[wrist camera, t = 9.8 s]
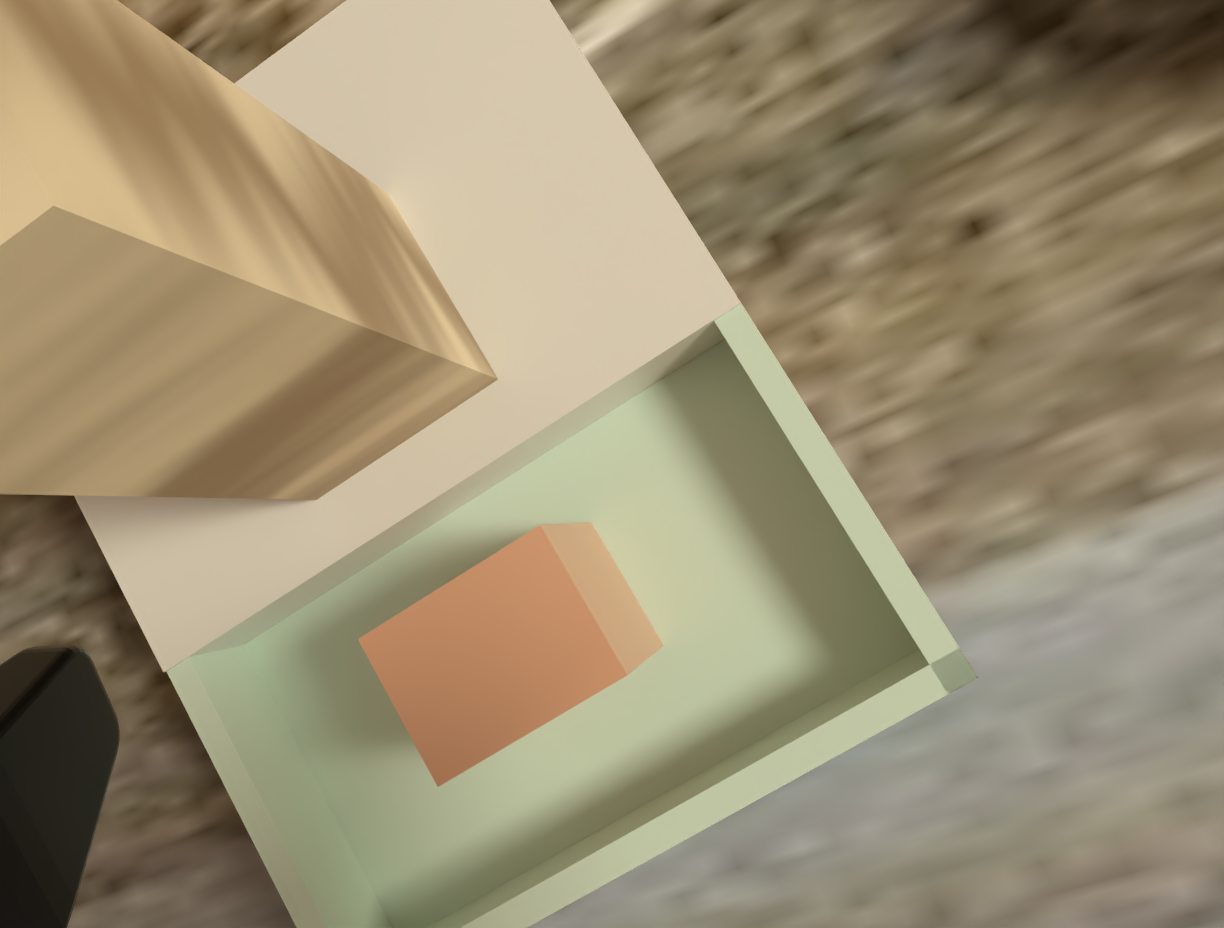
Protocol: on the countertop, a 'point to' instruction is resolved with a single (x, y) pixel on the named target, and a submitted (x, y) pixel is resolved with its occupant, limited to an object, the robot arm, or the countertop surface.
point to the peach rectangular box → (510, 646)
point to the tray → (616, 716)
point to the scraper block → (196, 280)
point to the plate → (474, 280)
